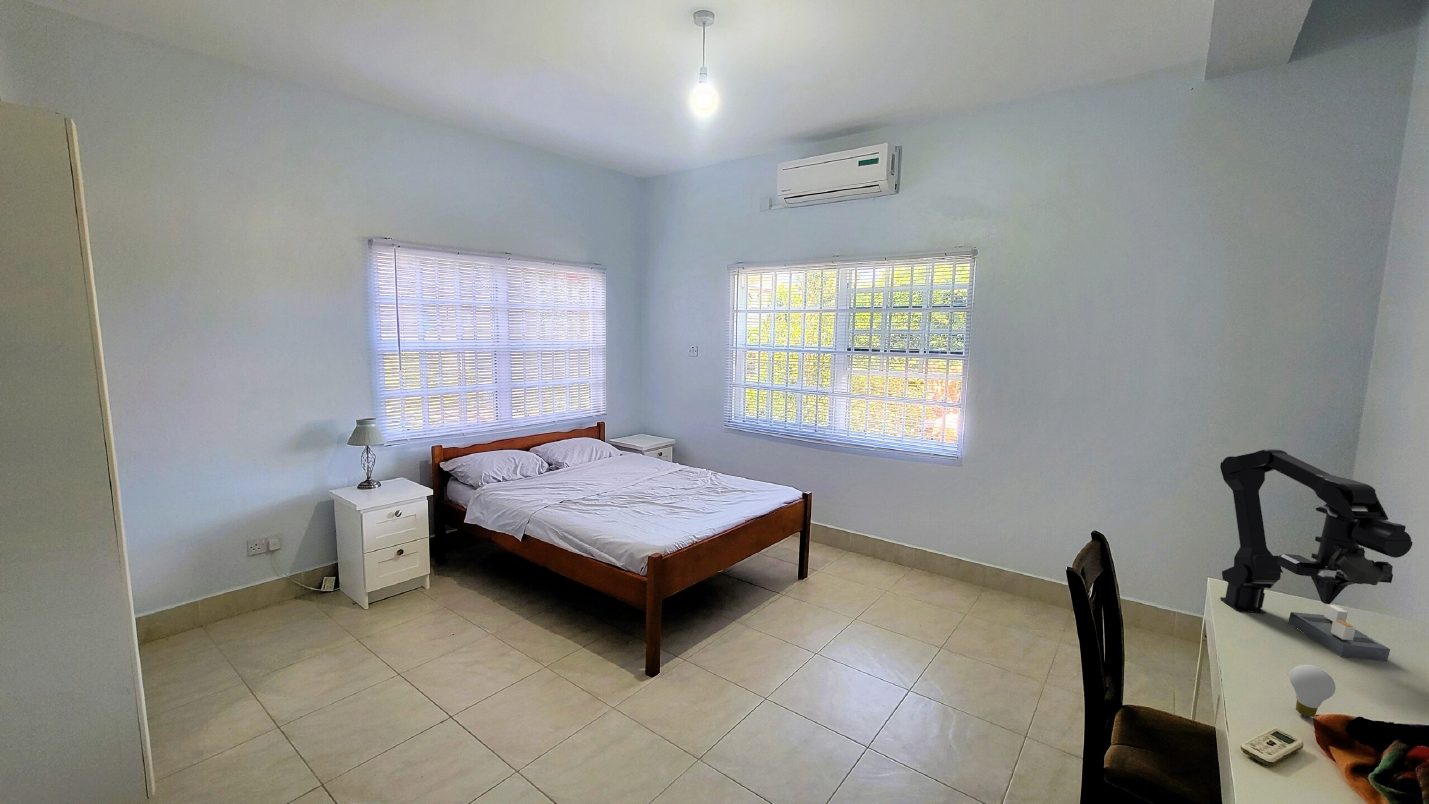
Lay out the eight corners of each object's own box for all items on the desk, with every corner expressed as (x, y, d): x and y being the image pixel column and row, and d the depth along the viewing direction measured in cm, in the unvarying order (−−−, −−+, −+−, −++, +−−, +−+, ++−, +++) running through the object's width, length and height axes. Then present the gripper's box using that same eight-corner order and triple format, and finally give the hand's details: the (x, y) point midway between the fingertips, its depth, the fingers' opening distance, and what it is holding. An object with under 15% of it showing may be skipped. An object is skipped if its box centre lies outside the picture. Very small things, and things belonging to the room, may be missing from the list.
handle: (1335, 622, 135) (1338, 611, 135) (1324, 616, 138) (1326, 604, 138) (1345, 623, 135) (1347, 612, 134) (1333, 617, 138) (1336, 605, 137)
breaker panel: (1340, 656, 127) (1343, 644, 127) (1288, 623, 141) (1290, 611, 140) (1387, 661, 126) (1390, 648, 126) (1329, 627, 140) (1332, 615, 139)
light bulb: (1336, 729, 104) (1348, 679, 102) (1298, 724, 105) (1309, 674, 103) (1310, 708, 110) (1321, 660, 108) (1274, 702, 111) (1284, 655, 109)
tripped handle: (1342, 639, 128) (1345, 626, 128) (1330, 632, 131) (1333, 619, 130) (1352, 640, 128) (1355, 627, 127) (1340, 633, 131) (1343, 620, 130)
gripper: (1326, 549, 120) (1311, 618, 122) (1428, 557, 117) (1410, 627, 120) (1281, 529, 130) (1268, 592, 133) (1374, 536, 128) (1358, 600, 131)
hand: (1325, 603), depth 129 cm, fingers closed
